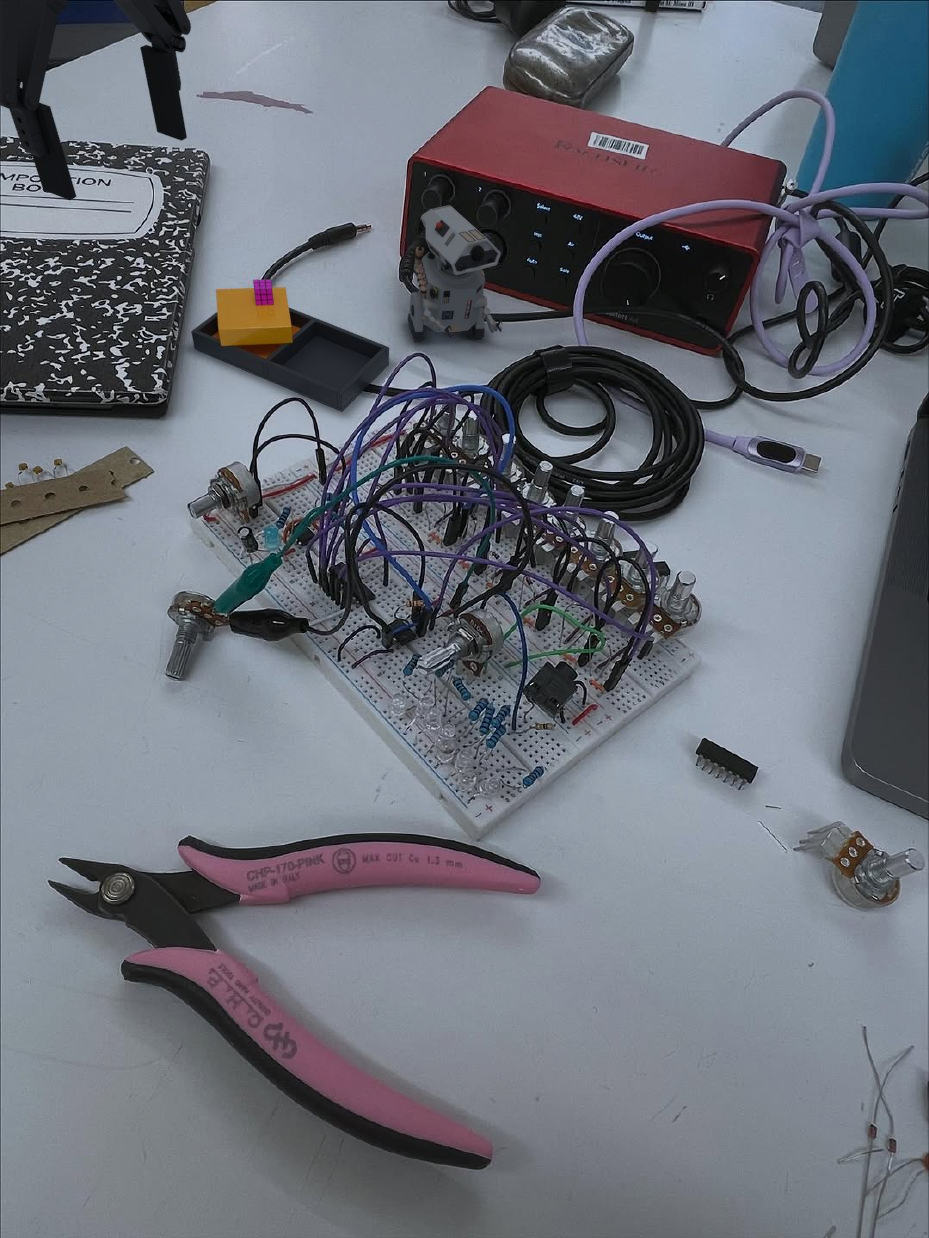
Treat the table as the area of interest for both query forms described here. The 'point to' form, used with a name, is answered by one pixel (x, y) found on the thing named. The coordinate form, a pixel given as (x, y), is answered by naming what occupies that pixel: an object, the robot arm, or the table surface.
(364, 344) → the divided tray
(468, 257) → the figurine
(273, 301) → the orange box
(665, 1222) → the table surface
